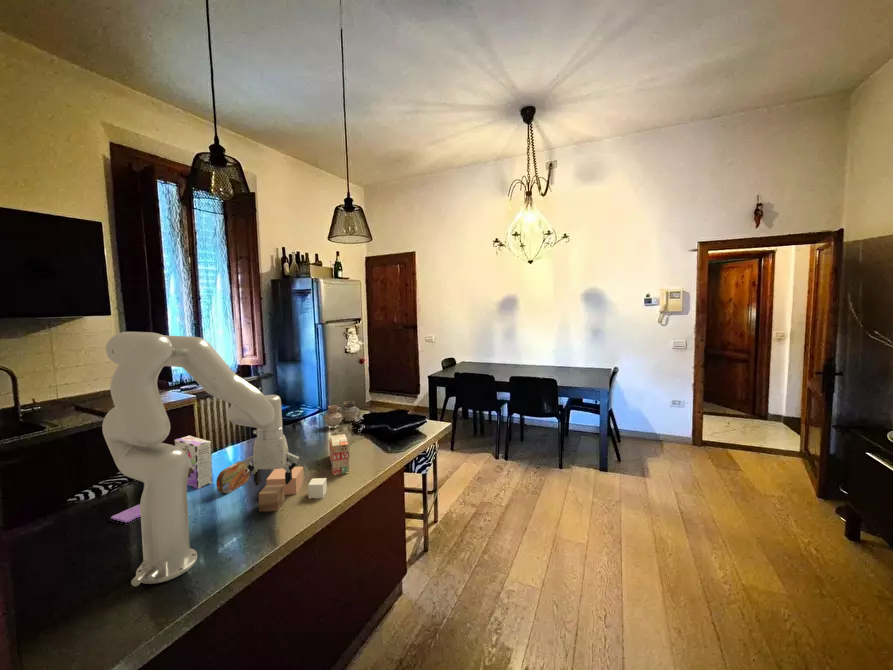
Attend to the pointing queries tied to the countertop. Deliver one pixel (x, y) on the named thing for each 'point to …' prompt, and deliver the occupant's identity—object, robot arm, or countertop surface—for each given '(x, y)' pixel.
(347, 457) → the stack of blocks
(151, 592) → the countertop surface
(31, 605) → the countertop surface
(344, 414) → the pottery
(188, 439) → the candy box
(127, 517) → the sponges
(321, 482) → the off-white cube
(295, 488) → the terracotta block
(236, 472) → the tin
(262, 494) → the walnut cube
